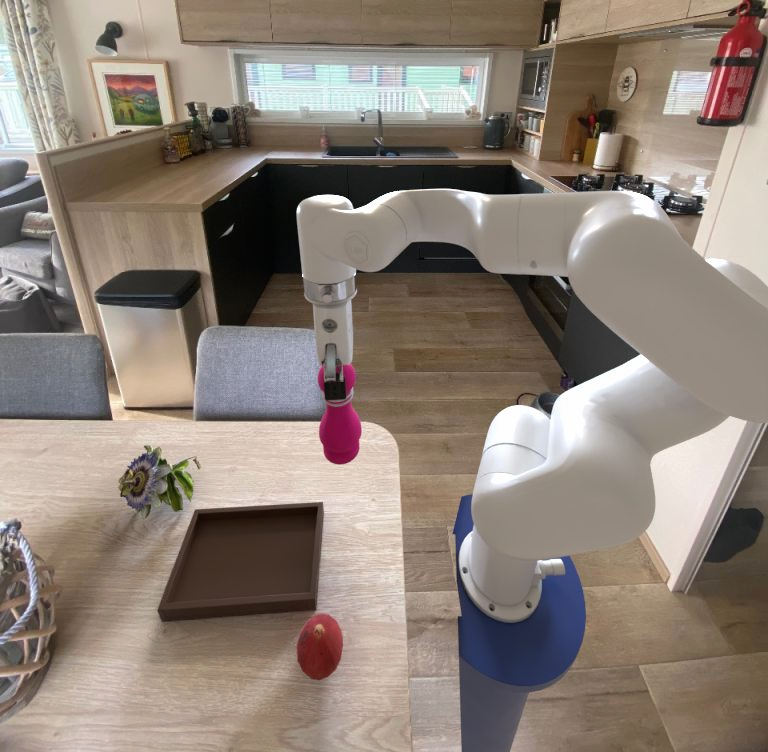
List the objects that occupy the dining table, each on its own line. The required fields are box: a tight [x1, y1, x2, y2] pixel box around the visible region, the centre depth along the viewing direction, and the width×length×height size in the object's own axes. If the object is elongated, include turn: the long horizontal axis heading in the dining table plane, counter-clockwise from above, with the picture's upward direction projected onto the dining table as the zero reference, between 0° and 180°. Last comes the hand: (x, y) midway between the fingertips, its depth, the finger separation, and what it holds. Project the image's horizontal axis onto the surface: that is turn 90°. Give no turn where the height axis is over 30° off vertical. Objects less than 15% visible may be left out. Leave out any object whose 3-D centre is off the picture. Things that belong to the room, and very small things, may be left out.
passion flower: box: [117, 444, 202, 520], centre depth 70 cm, size 11×11×12 cm
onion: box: [296, 613, 344, 681], centre depth 49 cm, size 6×6×8 cm
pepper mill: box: [317, 356, 363, 466], centre depth 64 cm, size 7×7×20 cm
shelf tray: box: [156, 501, 325, 623], centre depth 61 cm, size 22×14×3 cm, turn 94°
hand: (337, 381), depth 62 cm, fingers closed on pepper mill, 6 cm apart
